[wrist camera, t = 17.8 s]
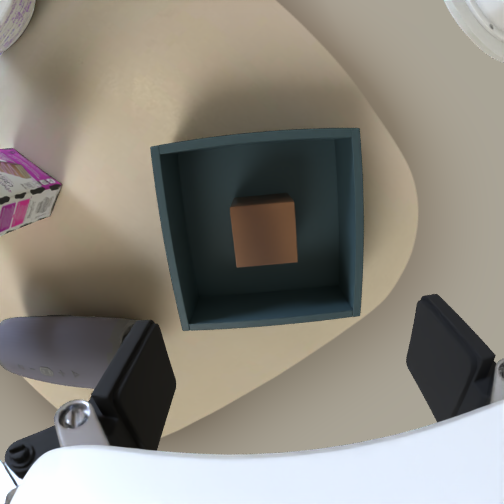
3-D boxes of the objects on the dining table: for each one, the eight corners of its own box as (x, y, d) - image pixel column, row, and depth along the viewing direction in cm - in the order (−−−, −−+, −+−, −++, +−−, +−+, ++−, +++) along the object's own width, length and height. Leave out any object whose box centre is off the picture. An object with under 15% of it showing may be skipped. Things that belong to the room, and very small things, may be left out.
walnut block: (287, 192, 31) (294, 201, 26) (291, 244, 33) (298, 262, 27) (233, 197, 31) (229, 207, 26) (239, 248, 33) (236, 267, 28)
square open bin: (338, 132, 29) (359, 128, 23) (343, 287, 35) (360, 316, 29) (171, 147, 30) (149, 146, 24) (194, 300, 36) (182, 331, 29)
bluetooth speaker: (39, 352, 40) (9, 387, 30) (19, 302, 37) (-19, 334, 27) (158, 358, 39) (137, 410, 29) (140, 298, 36) (108, 344, 26)
